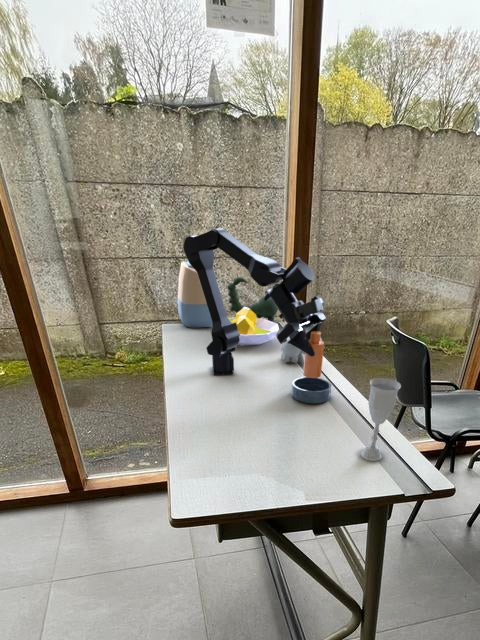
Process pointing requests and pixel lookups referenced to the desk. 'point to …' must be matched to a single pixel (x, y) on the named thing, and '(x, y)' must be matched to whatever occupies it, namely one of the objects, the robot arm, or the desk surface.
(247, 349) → the desk surface
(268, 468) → the desk surface
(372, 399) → the chalice
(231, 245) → the robot arm
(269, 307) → the toy figurine
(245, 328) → the fruit bowl
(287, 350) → the round bodied animal figurine
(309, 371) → the orange bottle
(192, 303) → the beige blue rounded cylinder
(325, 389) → the bowl
